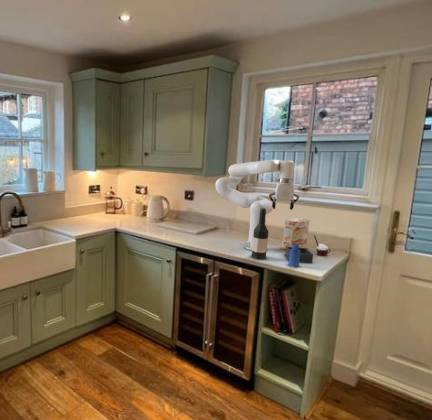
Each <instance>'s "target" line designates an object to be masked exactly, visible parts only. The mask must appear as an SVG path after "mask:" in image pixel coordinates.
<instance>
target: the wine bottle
mask: <svg viewBox="0 0 432 420" xmlns="http://www.w3.org/2000/svg"><path fill="white" fill-rule="evenodd" d="M266 216H267V214H266V210H265V208H261V209H260V217H259V224H258V225H257V226H256V228H255V229H254V235H253V246H252V250H251V258H252V259H254V260H260V261H261V260H266V259H267V249H268V240H269V230H268V228H267V224H266V225H265V217H266ZM266 218H267V217H266Z"/></svg>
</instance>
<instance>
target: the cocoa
mask: <svg viewBox="0 0 432 420" xmlns="http://www.w3.org/2000/svg"><path fill="white" fill-rule="evenodd" d="M313 237H314V241H315V243H316V248H315V249H316V253H317V255H319V256H326V255H328V254H330V253H331V250H330V249H329V247H328V246H327V245H325V244H324V243H318V240H317V237H316V235H313Z"/></svg>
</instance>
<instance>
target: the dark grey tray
mask: <svg viewBox="0 0 432 420" xmlns="http://www.w3.org/2000/svg"><path fill="white" fill-rule="evenodd" d="M290 249H292V247H286V249H285V252H284V255H285V256H286V257H287V259H288V260H289V256H290ZM299 250H300V259H299V263H308V264H312V263H313V259H314V254H313V253H312V252H311V251H310V250H309V249H308V248H307V247H306V248H299Z"/></svg>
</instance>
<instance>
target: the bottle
mask: <svg viewBox="0 0 432 420" xmlns="http://www.w3.org/2000/svg"><path fill="white" fill-rule="evenodd" d="M299 259H300V250H299V245H297V244H293V247H292V249H290V256H289V259H288V267H289V266H290V267H292V268H299V266H300V262H299Z"/></svg>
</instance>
